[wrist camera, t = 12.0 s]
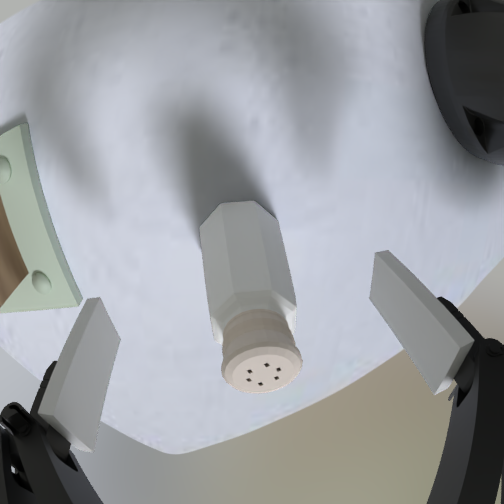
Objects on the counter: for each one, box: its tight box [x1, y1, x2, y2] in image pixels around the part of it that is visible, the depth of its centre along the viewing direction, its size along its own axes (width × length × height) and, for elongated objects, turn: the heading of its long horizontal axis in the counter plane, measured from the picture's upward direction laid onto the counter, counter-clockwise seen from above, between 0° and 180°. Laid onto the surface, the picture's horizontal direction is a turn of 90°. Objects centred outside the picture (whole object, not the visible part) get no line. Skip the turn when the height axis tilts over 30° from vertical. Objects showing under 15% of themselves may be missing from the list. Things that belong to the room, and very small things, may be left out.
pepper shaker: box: [199, 201, 303, 393], centre depth 14 cm, size 5×5×11 cm
